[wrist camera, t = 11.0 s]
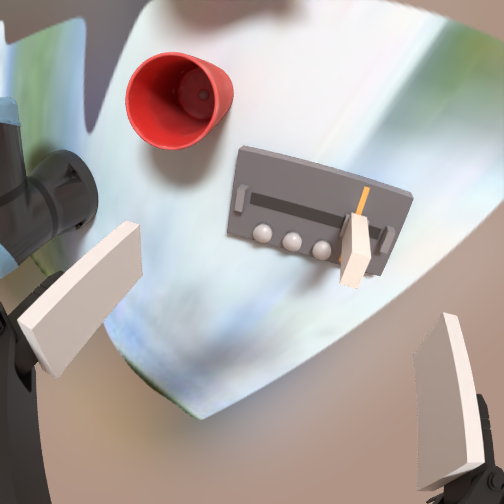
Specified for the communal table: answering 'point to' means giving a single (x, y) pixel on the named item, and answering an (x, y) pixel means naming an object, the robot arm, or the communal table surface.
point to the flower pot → (177, 99)
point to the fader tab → (354, 250)
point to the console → (312, 206)
